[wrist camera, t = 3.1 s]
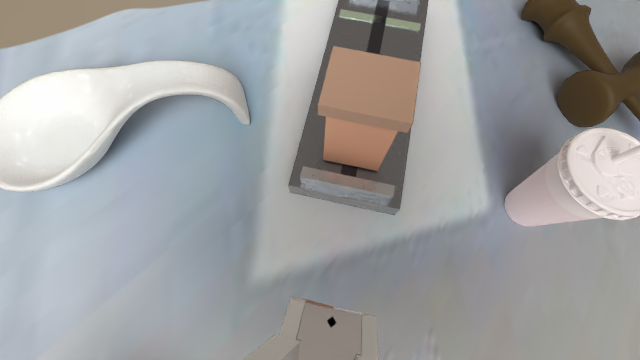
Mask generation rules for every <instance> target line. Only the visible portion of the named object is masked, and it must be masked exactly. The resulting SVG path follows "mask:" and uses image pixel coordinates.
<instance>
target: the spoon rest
mask: <svg viewBox="0 0 640 360" xmlns="http://www.w3.org/2000/svg"><path fill="white" fill-rule="evenodd" d="M174 95H202V96H207V97H211V98H213V99H216V100H218V101H220V102H222V103H224V104H225V105H226V106H227V107H228V108H230V110H231V111H232V112H233V113H234V114H235V116H236V117H237V119H238V120H239V121H240V123H242V124H243V125H249V124H250V117H249V111H248V107H247V102H246V98H245V93H244V90H243V87H242V85H241V83H240V82H239V81H238V79H237V78H236V77H235V76H234V75H233V74H231V73H230V72H228V71H226V70H224V69H222V68H219V67H216V66H213V65H209V64H204V63H197V62H188V61H151V62H142V63H137V64H131V65H125V66H118V67H110V68H89V69H73V70H65V71H56V72H51V73H47V74H43V75H40V76H37V77H35V78H32V79H30V80H27V81H26V82H23V83H22V84H20V85H18V86H17V87H15V88H14V89H12V90H11V91H9V92H8V93H7V94H5V95H4V96H3V97H2V98H1V99H0V188H3V189H6V190H10V191H17V192H32V191H39V190H45V189H50V188H54V187H57V186H60V185H62V184H65V183H67V182H70V181H72V180H73V179H75V178H77V177H79V176H81V175H82V174H84V173H85V172H87V171H88V170H89V169H91V168H92V167H93V166H94V165H95V164H96V163H97V162H99V161H100V159H101V158H102V157H103V156H104V155H105V153H106V152H107V151H108V149H109V147H110V145H111V144H112V142H113V140H114V139H115V137H116V135H117V134H118V132H119V131H120V129H121V128H122V126H123V125H124V124H125V122H126V121H127V120H128V119H129V118H130V117H131V115H132V114H134V113H135V112H136V111H137V110H138V109H139V108H141V107H142V106H144V105H145V104H147V103H149V102H151V101H153V100H156V99H159V98H162V97H167V96H174Z"/></svg>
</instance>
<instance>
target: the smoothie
mask: <svg viewBox="0 0 640 360" xmlns="http://www.w3.org/2000/svg"><path fill="white" fill-rule="evenodd" d="M504 205H505V210H506V212H507V214H508V216H509V217H510V218H511V219H512V220H513V221H514V222H516V223H517V224H519V225H522V226H527V227H530V226H539V225H547V224H555V223H563V222H571V221H580V220H588V219H598V218H608V219H614V220H626V219H632V218H635V217H637V216H640V141H638V140H637V139H636V138H634V137H632V136H630V135H628V134H626V133H624V132H621V131H618V130H615V129H610V128H592V129H588V130H585V131H583V132H581V133H580V134H578V135H576V136H574V137H572V138H569V139H568V140H567V141H566V142H565V143H564V144H563V145H562V147H561V149H560V151H559V153H558V154H556V155H555V156H554V157H553V158H552V159H550V160H549V161H548V162H547V163H545V164H544V165H543V166H542V167H540V168H539V169H538V170H537V171H535V172H534V173H533V174H532V175H530V176H529V177H528V178H527V179H525V180H524V181H523V182H522V183H520V184H519V185H518V186H517V187H515V188H514V189H513V190H512V191H510V192H509V193H508V194H507V196H506V198H505V202H504Z"/></svg>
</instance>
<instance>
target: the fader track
mask: <svg viewBox="0 0 640 360" xmlns="http://www.w3.org/2000/svg"><path fill="white" fill-rule="evenodd" d="M427 7H428V0H339V1H338V5H337V9H336V12H335V16H334V20H333V24H332V27H331V31H330V35H329V38H328V42H327V46H326V49H325V53H324V57H323V60H322V64H321V68H320V71H319V75H318V79H317V82H316V86H315V90H314V93H313V97H312V101H311V105H310V108H309V112H308V116H307V119H306V123H305V127H304V130H303V134H302V138H301V141H300V145H299V149H298V152H297V156H296V160H295V163H294V167H293V171H292V175H291V178H290V182H289V189H290V192H291V193H296V194H300V195H305V196H310V197H314V198H319V199H323V200H328V201H333V202H337V203H342V204H346V205H351V206H355V207H360V208H365V209H369V210H374V211H378V212H383V213H388V214H392V215H395V214H396V213H397V212H398V211H399V210H400V204H401V197H402V190H403V182H404V175H405V168H406V160H407V153H408V146H409V139H410V131H411V127H410V129H409V131H408V133H405V132H400V131H398V132H397V134H396V136H395V138H394V140H393V142H392V144H391V146H390V148H389V150H388V151H387V153H386V155H385V157H384V159H383V161H382V163H381V165H380V167H379V169H378V171H375V170H370V169H365V168H360V167H356V166H351V165H346V164H341V163H337V162H332V161H327V160H323V155H324V140H325V125H326V117H325V116H320V115H318V103H319V99H320V95H321V91H322V87H323V84H324V80H325V76H326V72H327V68H328V64H329V61H330V57H331V53H332V49H333V46H337V47H342V48H347V49H352V50H358V51H363V52H368V53H374V54H379V55H384V56H390V57H395V58H400V59H406V60H411V61H416V62H420V58H421V51H422V43H423V36H424V29H425V22H426V14H427Z"/></svg>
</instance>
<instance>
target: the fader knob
mask: <svg viewBox="0 0 640 360" xmlns="http://www.w3.org/2000/svg"><path fill="white" fill-rule="evenodd" d="M420 66H421V62H416V61H411V60H406V59H400V58H395V57H390V56H384V55H379V54H374V53H368V52H363V51H358V50H352V49H347V48H342V47H337V46H333V49H332V53H331V57H330V61H329V64H328V68H327V72H326V76H325V80H324V84H323V87H322V91H321V95H320V99H319V103H318V115H320V116H325V117H326V125H325V140H324V155H323V160H327V161H332V162H337V163H341V164H346V165H351V166H356V167H360V168H365V169H370V170H375V171H378V169H379V167H380V165H381V163H382V161H383V159H384V157H385V155H386V153H387V151H388V150H389V148H390V146H391V144H392V142H393V140H394V138H395V136H396V134H397V132H398V131H400V132H405V133H408V131H409V129H410V127H411V126H412V124H413V118H414V110H415V103H416V96H417V88H418V81H419V73H420Z"/></svg>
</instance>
